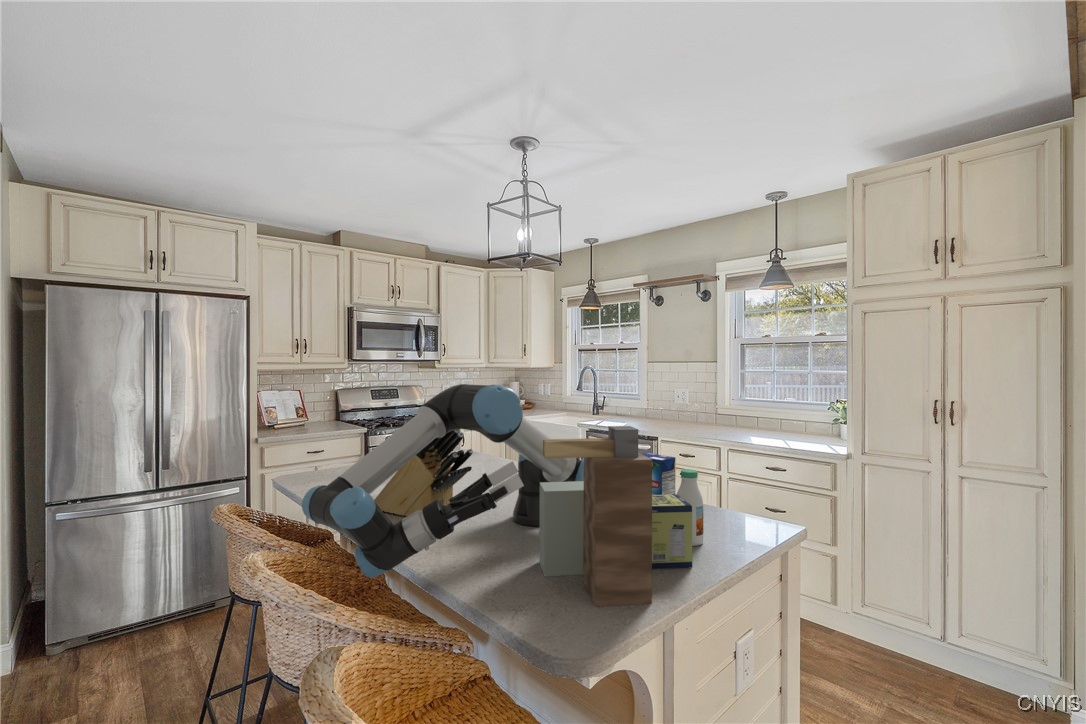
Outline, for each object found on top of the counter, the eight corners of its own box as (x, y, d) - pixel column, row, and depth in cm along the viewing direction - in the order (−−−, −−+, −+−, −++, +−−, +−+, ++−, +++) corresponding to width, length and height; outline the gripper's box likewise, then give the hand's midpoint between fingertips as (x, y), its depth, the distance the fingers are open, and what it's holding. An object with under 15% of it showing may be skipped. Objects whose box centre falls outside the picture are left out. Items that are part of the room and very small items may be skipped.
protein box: (621, 554, 135) (621, 495, 135) (678, 552, 136) (678, 493, 136) (631, 570, 124) (631, 506, 124) (693, 568, 125) (693, 504, 125)
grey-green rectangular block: (539, 561, 129) (539, 482, 129) (589, 559, 131) (590, 481, 131) (544, 576, 120) (544, 491, 120) (598, 573, 122) (598, 489, 122)
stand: (583, 581, 117) (583, 451, 117) (634, 579, 119) (634, 449, 119) (595, 606, 105) (596, 461, 105) (651, 603, 107) (652, 459, 107)
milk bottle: (688, 548, 139) (688, 474, 139) (669, 539, 145) (669, 469, 145) (709, 543, 142) (709, 471, 142) (689, 535, 149) (689, 466, 149)
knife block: (453, 528, 155) (453, 426, 155) (371, 511, 173) (371, 419, 173) (475, 518, 165) (475, 422, 165) (396, 503, 183) (396, 416, 183)
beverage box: (661, 536, 148) (661, 460, 148) (632, 526, 157) (632, 454, 157) (675, 531, 153) (675, 457, 153) (646, 522, 161) (646, 452, 161)
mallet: (542, 454, 113) (542, 427, 113) (629, 452, 116) (629, 425, 116) (545, 459, 107) (546, 430, 107) (638, 457, 110) (638, 429, 110)
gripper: (442, 521, 120) (521, 475, 122) (433, 562, 95) (532, 503, 97) (426, 494, 119) (506, 448, 122) (413, 527, 95) (513, 469, 97)
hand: (518, 472), depth 110 cm, fingers open, 13 cm apart
